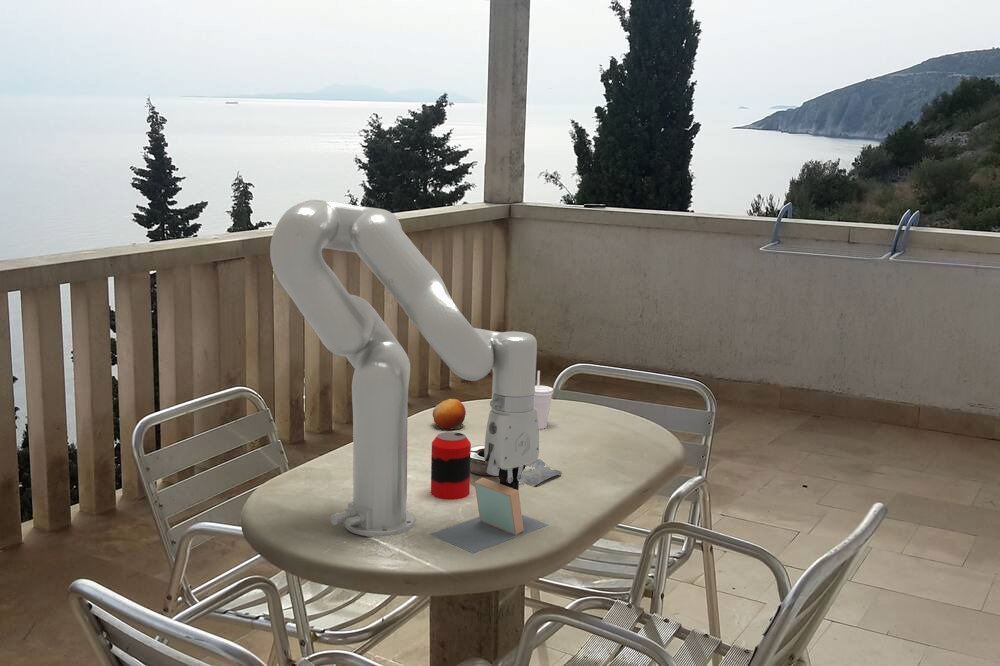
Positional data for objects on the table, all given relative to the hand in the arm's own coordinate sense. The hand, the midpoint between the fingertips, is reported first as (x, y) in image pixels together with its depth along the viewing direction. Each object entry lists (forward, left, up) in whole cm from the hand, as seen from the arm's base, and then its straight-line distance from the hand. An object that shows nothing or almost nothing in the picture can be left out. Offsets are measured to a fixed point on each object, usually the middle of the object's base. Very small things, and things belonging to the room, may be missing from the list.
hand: (508, 500), depth 181 cm
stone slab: (+23, +16, -6) cm, 29 cm away
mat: (-4, 0, -5) cm, 7 cm away
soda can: (+3, +19, -5) cm, 20 cm away
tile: (-2, 0, -4) cm, 5 cm away
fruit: (+35, +54, -5) cm, 65 cm away
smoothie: (+52, +40, -5) cm, 66 cm away
